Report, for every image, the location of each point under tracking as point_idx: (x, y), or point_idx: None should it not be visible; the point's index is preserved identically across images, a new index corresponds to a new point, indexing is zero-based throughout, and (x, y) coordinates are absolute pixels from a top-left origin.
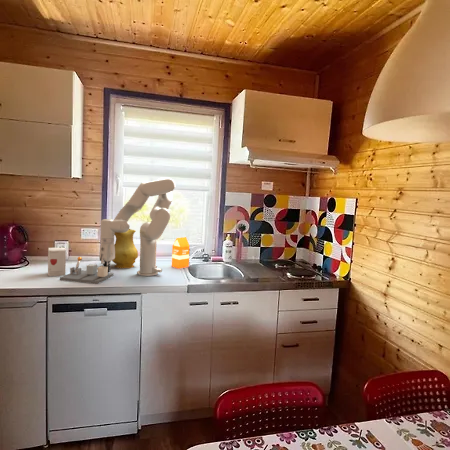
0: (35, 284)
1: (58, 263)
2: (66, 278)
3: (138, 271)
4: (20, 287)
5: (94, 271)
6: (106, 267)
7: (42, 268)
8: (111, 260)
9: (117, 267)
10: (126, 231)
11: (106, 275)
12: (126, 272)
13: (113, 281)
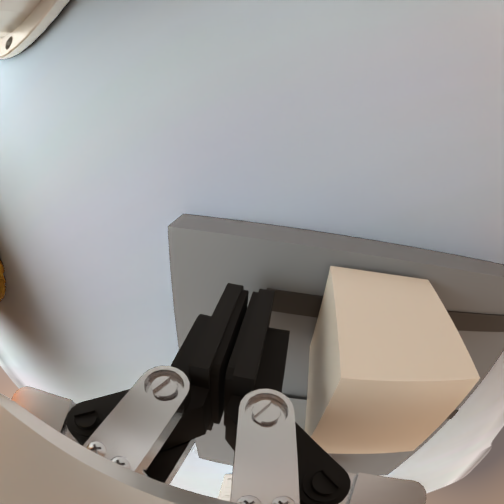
0: (440, 471)
1: None
2: (406, 457)
3: (21, 31)
4: (463, 471)
5: (296, 422)
6: (405, 378)
7: (209, 495)
8: (42, 399)
9: (1, 275)
10: None
11: (368, 274)
12: (32, 149)
13: (450, 127)
